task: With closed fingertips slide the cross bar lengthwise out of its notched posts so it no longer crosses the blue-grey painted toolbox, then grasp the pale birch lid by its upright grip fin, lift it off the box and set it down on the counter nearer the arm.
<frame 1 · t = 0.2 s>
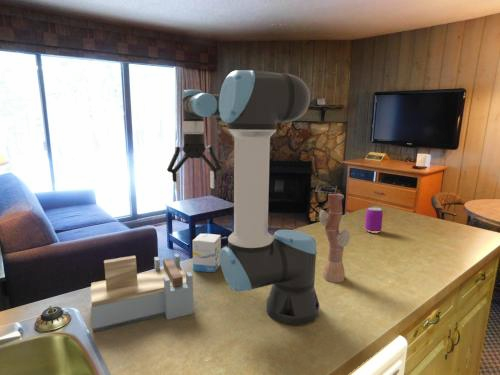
hand: (195, 189, 126), 28 cm above the countertop, fingers open, 13 cm apart
ink box: (207, 267, 123), on the countertop
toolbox: (142, 308, 95), on the countertop
beverage can: (372, 232, 164), on the countertop
game die: (268, 262, 127), on the countertop
lid: (141, 286, 93), point 7 cm above the countertop, touching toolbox
vase: (331, 277, 116), on the countertop
cross bar: (172, 271, 97), point 10 cm above the countertop, slide at 0.0 cm
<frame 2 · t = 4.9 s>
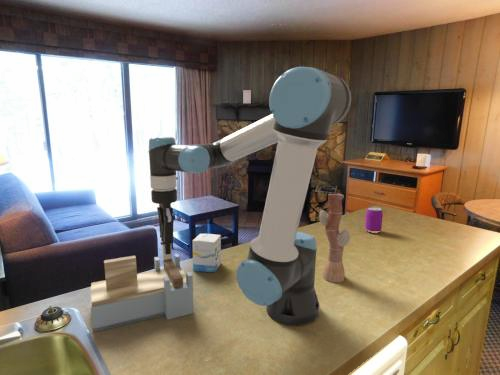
hand: (167, 262, 103), 10 cm above the countertop, fingers closed
cross bar: (172, 272, 96), point 10 cm above the countertop, slide at 0.6 cm, touching gripper
everything else where it was.
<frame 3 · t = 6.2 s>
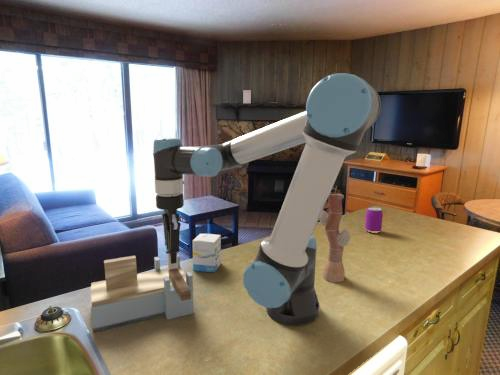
hand: (173, 271, 96), 10 cm above the countertop, fingers closed
cross bar: (179, 283, 90), point 10 cm above the countertop, slide at 8.2 cm, touching gripper
everything else where it was.
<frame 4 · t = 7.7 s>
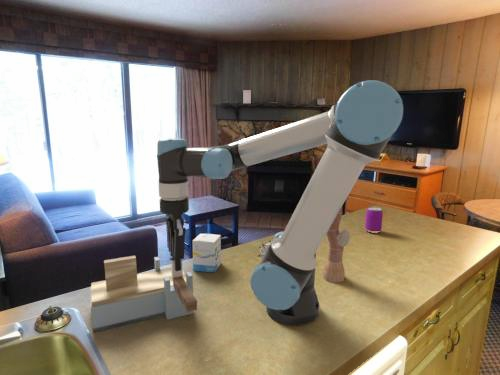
hand: (177, 279, 92), 10 cm above the countertop, fingers closed
cross bar: (184, 292, 85), point 10 cm above the countertop, slide at 13.6 cm, touching gripper
everything else where it was.
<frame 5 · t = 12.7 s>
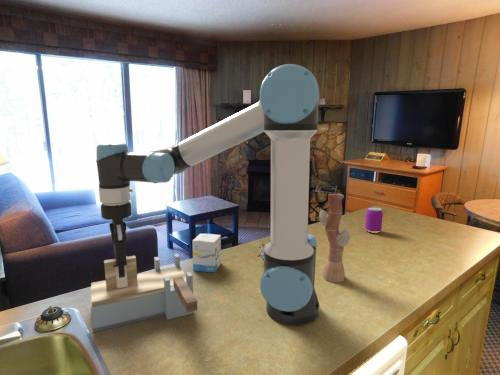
hand: (122, 284, 91), 9 cm above the countertop, fingers closed on lid, 2 cm apart
lid: (141, 286, 93), point 7 cm above the countertop, touching gripper, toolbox
cross bar: (184, 293, 85), point 10 cm above the countertop, slide at 13.8 cm
everything else where it was.
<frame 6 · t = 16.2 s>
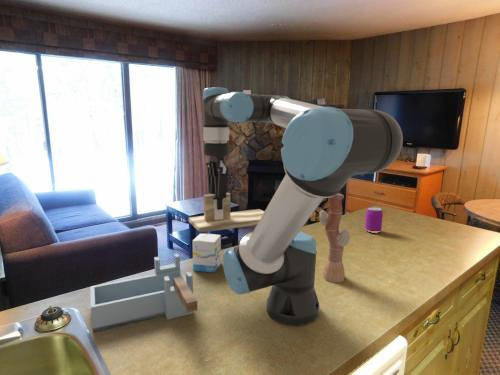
hand: (217, 218, 102), 24 cm above the countertop, fingers closed on lid, 2 cm apart
lid: (232, 221, 105), point 22 cm above the countertop, touching gripper
everything else where it was.
when the fingers open (4 cm above the countertop, at t = 19.8 s): lid drops 2 cm, on the countertop.
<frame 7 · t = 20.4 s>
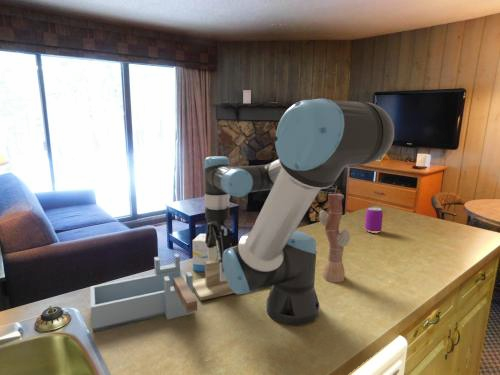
hand: (218, 272, 106), 5 cm above the countertop, fingers open, 10 cm apart
lid: (232, 284, 109), on the countertop
everything else where it was.
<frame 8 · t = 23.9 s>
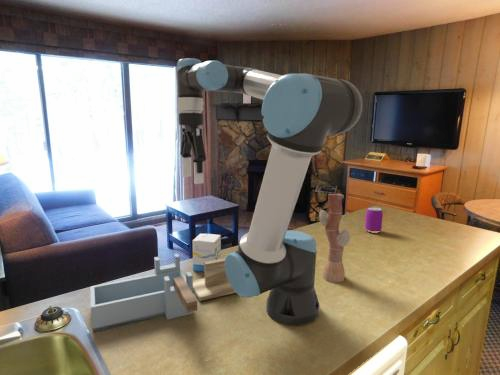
hand: (192, 180, 106), 35 cm above the countertop, fingers open, 13 cm apart
nothing on the countertop moved.
at the end: cross bar slide at 13.8 cm; lid inside the target area (0.3 cm from its centre), on the countertop; the gripper is holding nothing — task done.
